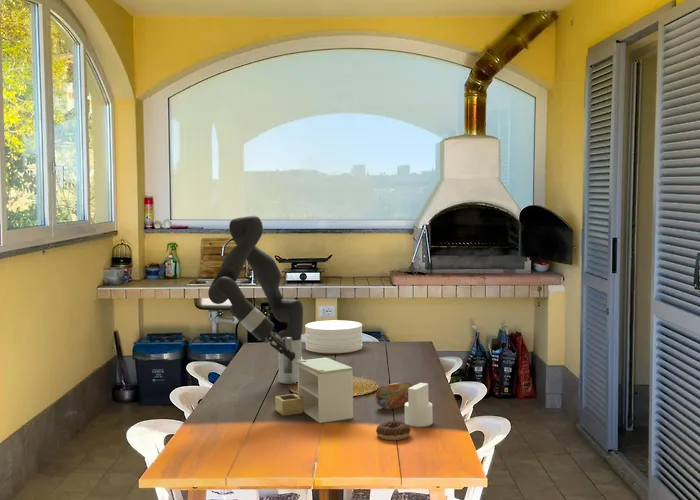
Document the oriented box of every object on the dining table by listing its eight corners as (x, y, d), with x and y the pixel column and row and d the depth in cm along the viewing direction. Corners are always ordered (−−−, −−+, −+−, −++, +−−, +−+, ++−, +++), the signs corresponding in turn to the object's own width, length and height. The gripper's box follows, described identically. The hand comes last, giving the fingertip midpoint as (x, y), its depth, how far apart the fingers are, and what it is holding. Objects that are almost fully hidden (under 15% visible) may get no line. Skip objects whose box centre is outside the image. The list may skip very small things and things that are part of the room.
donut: (415, 440, 228) (415, 427, 228) (382, 443, 225) (382, 430, 225) (403, 430, 238) (403, 417, 238) (371, 433, 235) (371, 420, 235)
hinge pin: (290, 370, 261) (290, 336, 260) (293, 372, 258) (293, 338, 258) (282, 371, 260) (281, 337, 259) (285, 373, 257) (284, 338, 256)
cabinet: (330, 403, 270) (329, 356, 269) (354, 418, 251) (353, 367, 250) (296, 408, 264) (295, 359, 263) (318, 423, 246) (317, 371, 245)
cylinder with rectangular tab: (424, 428, 240) (424, 390, 239) (399, 424, 244) (399, 387, 244) (437, 420, 247) (436, 384, 246) (412, 417, 252) (412, 381, 251)
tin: (378, 411, 260) (378, 386, 259) (374, 408, 263) (374, 384, 262) (415, 405, 267) (415, 381, 266) (411, 403, 270) (410, 379, 269)
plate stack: (304, 343, 386) (303, 321, 385) (358, 341, 389) (358, 319, 388) (307, 354, 358) (306, 330, 357) (365, 352, 361) (365, 328, 360)
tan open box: (297, 407, 265) (297, 393, 265) (304, 412, 259) (304, 398, 258) (275, 410, 262) (275, 396, 262) (282, 415, 255) (282, 401, 255)
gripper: (264, 318, 250) (301, 354, 252) (265, 312, 264) (301, 346, 266) (248, 335, 250) (286, 370, 252) (250, 327, 264) (286, 361, 266)
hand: (293, 357), depth 259 cm, fingers closed on hinge pin, 3 cm apart
